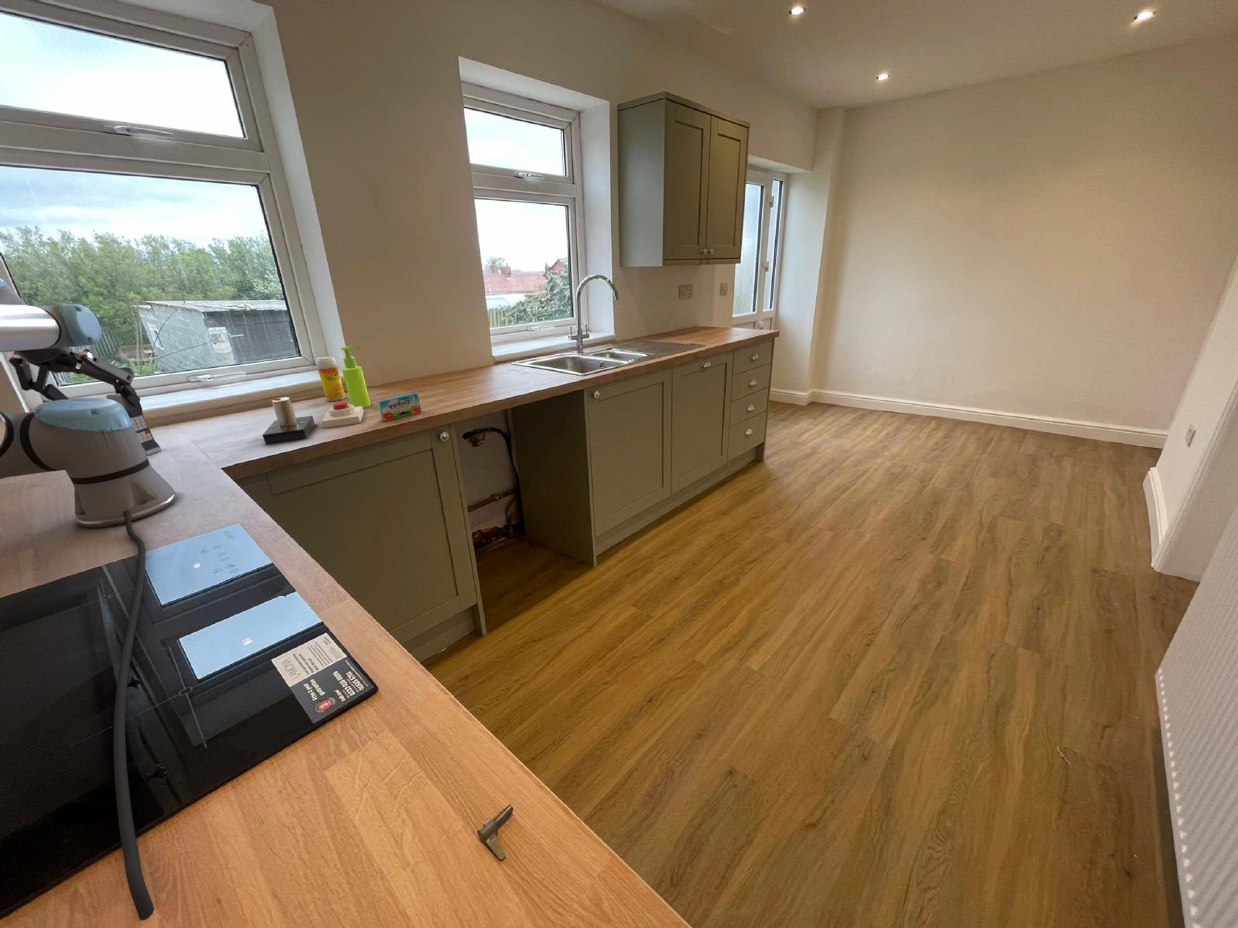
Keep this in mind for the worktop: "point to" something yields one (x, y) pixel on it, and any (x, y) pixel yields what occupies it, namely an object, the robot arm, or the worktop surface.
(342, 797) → the worktop surface
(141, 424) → the vintage mobile phone
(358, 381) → the soap dispenser
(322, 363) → the yellow bottle
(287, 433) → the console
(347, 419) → the switch block
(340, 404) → the power button
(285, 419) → the beige upright cylinder
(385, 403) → the yogurt
